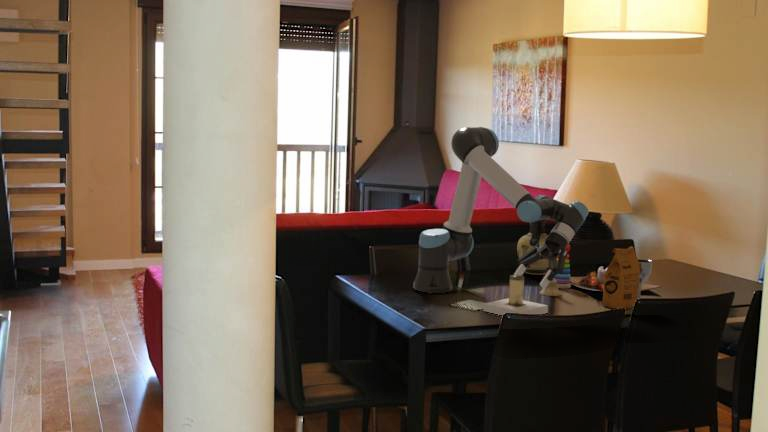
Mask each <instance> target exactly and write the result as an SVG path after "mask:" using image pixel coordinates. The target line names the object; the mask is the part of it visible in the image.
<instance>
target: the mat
mask: <svg viewBox="0 0 768 432" xmlns="http://www.w3.org/2000/svg"><path fill="white" fill-rule="evenodd" d="M458 303H459V305H460V304H461V305H462V306H463V307H465V308H467V306H468V308H469V309H471V308H473V309H474V310H475V309H476V310H477V309H483V304H484V303H485V302H482V301H477V300H473V299H466V300H462V301H457V304H458ZM465 303H466V305H467V306H466V305H463V304H465ZM471 304H472V305H471ZM461 305H460V306H461ZM462 306H461V307H462ZM470 307H471V308H470Z"/></svg>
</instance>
